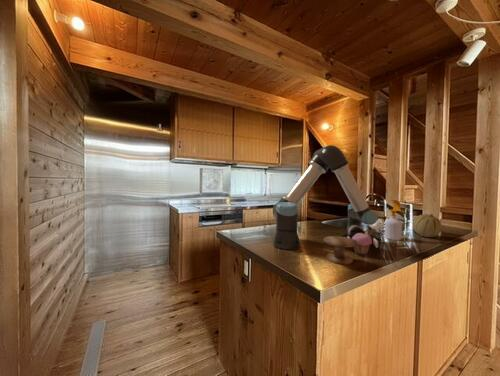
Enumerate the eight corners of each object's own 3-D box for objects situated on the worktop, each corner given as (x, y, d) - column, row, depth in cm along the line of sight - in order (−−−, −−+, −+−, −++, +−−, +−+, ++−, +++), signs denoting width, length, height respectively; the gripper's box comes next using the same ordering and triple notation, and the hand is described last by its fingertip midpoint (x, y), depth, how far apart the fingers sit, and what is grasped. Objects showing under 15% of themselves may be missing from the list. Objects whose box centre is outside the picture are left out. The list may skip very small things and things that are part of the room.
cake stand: (330, 265, 91) (330, 244, 91) (318, 254, 105) (319, 236, 105) (362, 265, 91) (363, 244, 91) (347, 254, 105) (347, 236, 105)
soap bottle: (380, 237, 139) (381, 199, 138) (391, 236, 142) (392, 198, 141) (394, 240, 130) (395, 200, 130) (405, 239, 133) (406, 199, 132)
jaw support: (394, 229, 148) (383, 219, 149) (384, 238, 149) (373, 228, 150) (387, 225, 159) (377, 216, 161) (378, 234, 161) (368, 224, 162)
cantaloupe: (418, 233, 150) (418, 211, 150) (445, 237, 138) (446, 214, 137) (408, 235, 143) (408, 213, 142) (435, 241, 130) (436, 216, 130)
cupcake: (358, 249, 113) (358, 230, 113) (375, 254, 106) (375, 233, 106) (348, 252, 109) (348, 232, 108) (365, 257, 101) (365, 236, 101)
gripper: (379, 241, 120) (391, 253, 100) (334, 237, 128) (336, 248, 107) (380, 228, 120) (391, 237, 100) (334, 225, 128) (336, 233, 107)
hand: (363, 243), depth 103 cm, fingers open, 11 cm apart
